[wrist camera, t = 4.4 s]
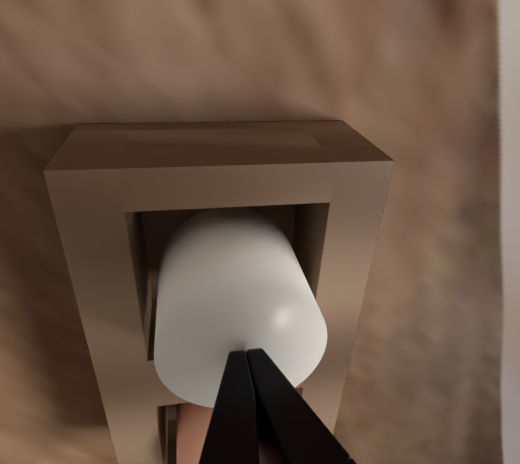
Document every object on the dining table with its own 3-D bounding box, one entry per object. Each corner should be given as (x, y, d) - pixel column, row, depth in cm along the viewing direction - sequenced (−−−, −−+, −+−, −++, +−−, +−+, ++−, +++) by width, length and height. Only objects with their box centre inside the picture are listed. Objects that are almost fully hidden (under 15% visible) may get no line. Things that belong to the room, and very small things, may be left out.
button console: (301, 402, 23) (323, 475, 19) (137, 425, 21) (129, 508, 18) (342, 120, 14) (394, 160, 11) (78, 123, 13) (42, 171, 9)
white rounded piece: (286, 309, 15) (317, 397, 12) (165, 320, 14) (161, 418, 11) (296, 203, 12) (338, 276, 9) (153, 209, 12) (144, 292, 9)
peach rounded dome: (267, 406, 20) (284, 484, 17) (179, 418, 19) (180, 502, 16) (272, 344, 18) (292, 421, 15) (172, 355, 17) (172, 438, 14)
